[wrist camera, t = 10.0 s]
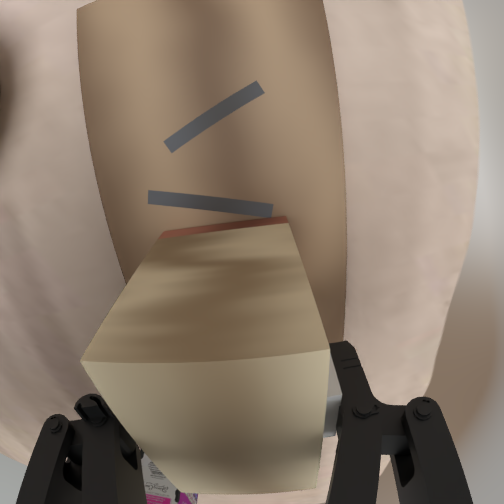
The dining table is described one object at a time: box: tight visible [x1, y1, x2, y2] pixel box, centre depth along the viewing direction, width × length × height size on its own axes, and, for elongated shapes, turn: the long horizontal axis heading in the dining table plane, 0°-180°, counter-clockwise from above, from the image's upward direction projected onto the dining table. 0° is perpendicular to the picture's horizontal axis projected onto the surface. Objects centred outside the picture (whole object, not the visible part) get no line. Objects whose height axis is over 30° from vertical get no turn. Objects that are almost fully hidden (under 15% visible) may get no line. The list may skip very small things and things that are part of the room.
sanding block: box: [80, 216, 330, 494], centre depth 12 cm, size 6×9×9 cm, turn 7°
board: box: [77, 0, 347, 343], centre depth 16 cm, size 12×30×1 cm, turn 7°
